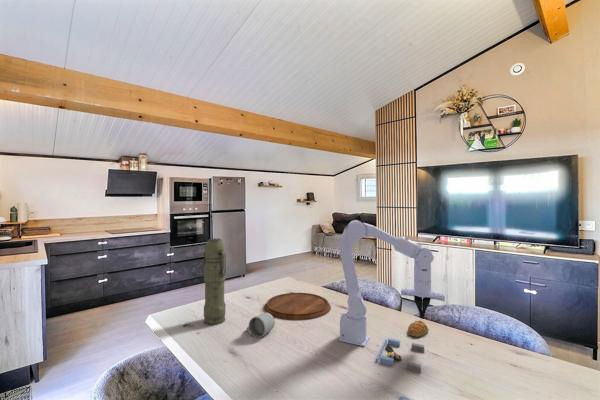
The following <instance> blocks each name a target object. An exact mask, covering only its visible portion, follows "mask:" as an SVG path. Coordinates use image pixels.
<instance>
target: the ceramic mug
mask: <svg viewBox="0 0 600 400" xmlns="http://www.w3.org/2000/svg"><path fill="white" fill-rule="evenodd" d="M275 324H276V321H275V317H273V316H272V315H271V314H270V313H267V312H263V313H260V314H258V315H256V316H253V317H252V318H251V319H250V320H249V322H248V326H247V327H246V331H247V332H248V333H249V332H250V334H251V335H252V336H253V337H254V338H257V339H260V338H262V337H264V336H265V335H267V334H268V333H269V332H271V331H272V330H273V329H274V328H275Z"/></svg>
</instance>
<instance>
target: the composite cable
mask: <svg viewBox="0 0 600 400" xmlns="http://www.w3.org/2000/svg"><path fill="white" fill-rule="evenodd" d="M385 350H386V351H387V354H386V357H390V358H394V360H396V361H397V362H402V360H403V358H402V355H399V354H398V353H396V352H395V351H394V349H393V347H392V346H391V345H390V346H389V345H385Z"/></svg>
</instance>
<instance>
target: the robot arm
mask: <svg viewBox="0 0 600 400" xmlns="http://www.w3.org/2000/svg"><path fill="white" fill-rule="evenodd" d="M364 237H365V238H372V237H374V238H376V239H378V240H381V241H383V242H385V243H387V244H389V245H391V246H393V249H394V251H396V252H398V253H400V254H402V255H404V256H406V257H409V258H410V259H413V263H414V267H413V289H412V288H411V289H410V288H409V289H408V288H401V289H400V295H401V296H408V297H414V298H413V300H414V303H415V305H416V307H417V310H418V312H419V319H423V320H425V319H426V318H425V315H426V312H427V310H428V308H429V305H430V303H431V300H437V301H441V302H446V301H445V299H446V294H443V293H439V292H434V291H432V263H433V261H434V257H435V256H434V254H433V252H432V251H431V249H430V248H427V247H426V246H423V245H422V244H421V243H420V242H415V241H414V240H413V241H412V240H410V237H408V236H405V235H404V236H398V237H396V236H394V235H392V234H390V233H388V232H386V231H385V230H383V229H381V228H379V227H376V226H375V225H372V224H371V223H370V224H369V223H366V222H362V221H360V220H359V219H358V220H357V219H354V220H351V221H350V222H349V223H348V224H347V225H346V226H345V227H344V229H343V232H342V234H341V236H340V238H339V241H338V248H339V249H338V250H339V254H340V259H341V264H342V269H343V275H344V279H345V285H346V290H347V294H348V295H347V296H348V298H347V306H348V309H347V310H348V311H347V312H346V313H345V312H344V313H342V314H341V316H340V318H339V319H340V320H339V339H338V341H340V342H343V343H346V344H347V343H348V344H351V345H357V346H360V347H366V344H367V343H368V341H369V340H370V335H367V307H366V305H365V300H364V298H363V296H362V295H361V290H360V285H359V280H358V275H357V269H356V266H355V260H354V256H353V250H352V248H353V247H354V246H355V244H356V243H357V242H358V241H360V240H361V239H363V238H364Z"/></svg>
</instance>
